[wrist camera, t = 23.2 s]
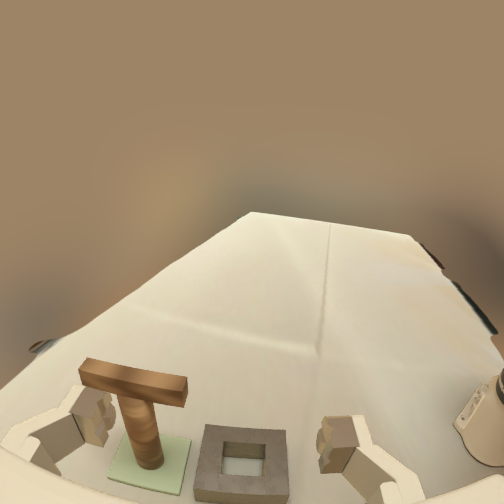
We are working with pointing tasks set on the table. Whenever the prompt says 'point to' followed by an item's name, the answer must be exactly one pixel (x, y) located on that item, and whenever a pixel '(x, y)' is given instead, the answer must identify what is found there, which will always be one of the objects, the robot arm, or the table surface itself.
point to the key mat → (156, 480)
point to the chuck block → (243, 446)
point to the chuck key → (137, 402)
